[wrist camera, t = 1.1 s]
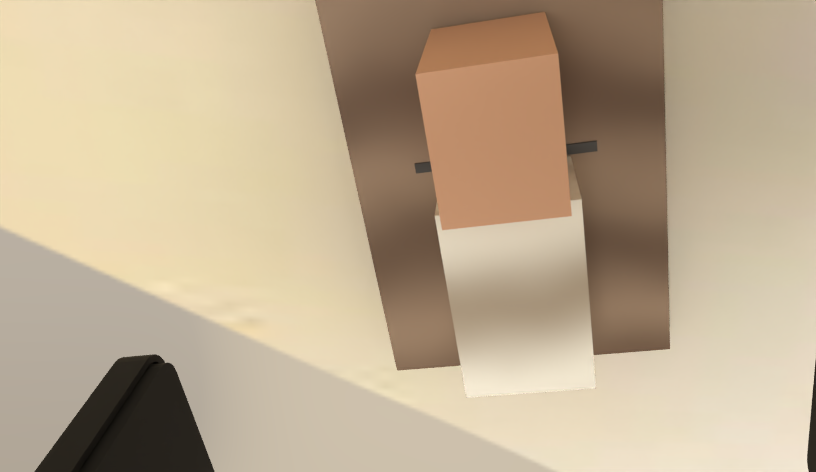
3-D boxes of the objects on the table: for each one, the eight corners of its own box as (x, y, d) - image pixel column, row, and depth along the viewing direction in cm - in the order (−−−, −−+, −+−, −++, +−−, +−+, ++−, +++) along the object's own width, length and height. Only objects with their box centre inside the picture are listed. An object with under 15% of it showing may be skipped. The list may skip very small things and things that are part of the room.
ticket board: (662, 329, 33) (691, 411, 28) (400, 350, 35) (386, 430, 30) (646, -300, 23) (687, -340, 18) (278, -218, 25) (226, -235, 20)
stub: (556, 146, 28) (571, 215, 23) (451, 159, 29) (441, 230, 23) (544, 11, 26) (558, 53, 20) (431, 29, 26) (415, 74, 21)
